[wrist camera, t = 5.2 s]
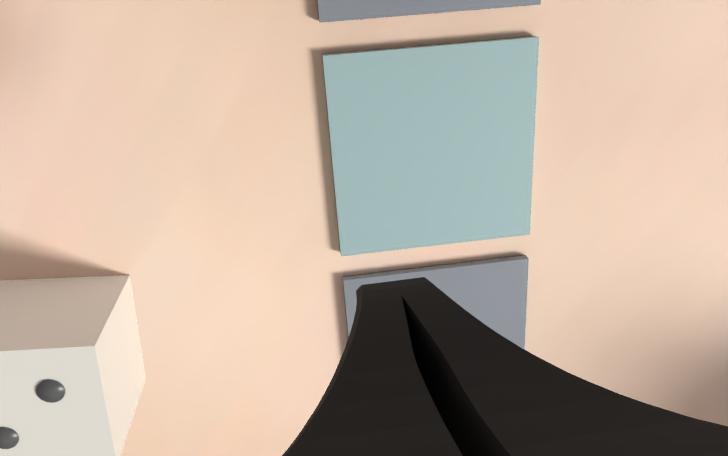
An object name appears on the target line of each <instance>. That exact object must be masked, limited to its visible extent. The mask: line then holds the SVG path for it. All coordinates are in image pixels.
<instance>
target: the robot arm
mask: <svg viewBox="0 0 728 456" xmlns="http://www.w3.org/2000/svg"><path fill="white" fill-rule="evenodd" d="M356 298H357V305H356V311H355V316H354V321H353V325H352V328H351V331H350V335H349V338H348V341H347V344H346V347H345V350H344V352H343V355H342V357H341V359H340V362H339V364H338V367H337V369H336V372H335V374H334V376H333V378H332V380H331V382H330V384H329V386H328V388H327V390H326V392H325V394H324V395H323V397H322V399H321V401H320V402H319V404H318V406H317V408H316V409H315V411H314V412H313V414H312V415H311V417H310V418H309V420H308V421H307V423H306V425H305V426H304V428H303V429H302V431H301V432H300V433H299V435H298V436H297V438H296V439H295V440H294V442H293V443H292V444H291V446H290V447H289V448H288V449H287V451H286V452H285V453H284V454H283V455H282V456H728V426H723V425H719V424H715V423H711V422H707V421H702V420H698V419H695V418H691V417H687V416H684V415H681V414H678V413H674V412H671V411H668V410H665V409H661V408H658V407H655V406H652V405H649V404H646V403H643V402H640V401H637V400H634V399H631V398H629V397H626V396H623V395H620V394H618V393H615V392H613V391H610V390H608V389H605V388H603V387H600V386H598V385H595V384H593V383H590V382H588V381H586V380H583V379H581V378H579V377H577V376H574V375H572V374H570V373H568V372H566V371H564V370H562V369H560V368H558V367H556V366H554V365H552V364H550V363H548V362H546V361H544V360H542V359H540V358H538V357H536V356H535V355H533V354H531V353H529V352H528V351H526V350H524V349H522V348H521V347H519V346H517V345H516V344H514V343H513V342H511V341H510V340H508V339H506V338H505V337H503V336H502V335H500V334H498V333H497V332H495V331H494V330H492V329H491V328H490V327H488V326H487V325H485V324H484V323H482V322H481V321H480V320H478V319H477V318H475V317H474V316H473V315H471V314H470V313H469V312H467V311H466V310H465V309H463V308H462V307H461V306H460V305H458V304H457V303H456V302H455V301H453V300H452V299H451V298H450V297H448V296H447V295H446V294H445V293H444V292H442V291H441V290H440V289H439V288H437V287H436V286H435V285H434V284H433V283H431V282H430V281H429V280H428V279H426V278H425V277H420V278H412V279H404V280H397V281H389V282H381V283H373V284H365V285H361V286H360V287H359V288H358V289H357V290H356Z"/></svg>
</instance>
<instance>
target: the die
mask: <svg viewBox="0 0 728 456" xmlns="http://www.w3.org/2000/svg"><path fill="white" fill-rule="evenodd" d="M145 380H146V378H145V371H144V365H143V358H142V352H141V345H140V339H139V332H138V326H137V319H136V313H135V306H134V299H133V293H132V286H131V280H130V275H117V276H93V277H69V278H45V279H22V280H0V456H121V453H122V450H123V447H124V444H125V441H126V438H127V435H128V432H129V429H130V426H131V423H132V420H133V417H134V414H135V411H136V408H137V405H138V402H139V399H140V396H141V393H142V390H143V386H144V383H145Z"/></svg>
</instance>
